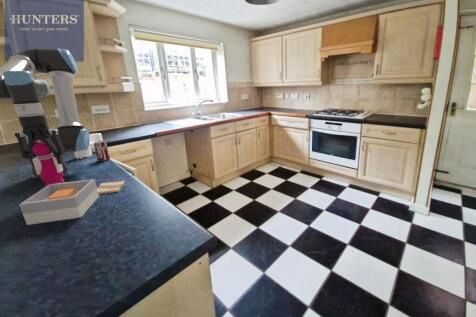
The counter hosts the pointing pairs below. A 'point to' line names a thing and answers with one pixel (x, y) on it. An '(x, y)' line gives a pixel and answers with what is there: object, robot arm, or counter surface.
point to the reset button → (63, 194)
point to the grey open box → (59, 202)
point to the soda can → (101, 150)
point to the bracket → (91, 148)
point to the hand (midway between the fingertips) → (50, 172)
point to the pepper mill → (47, 164)
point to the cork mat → (110, 187)
